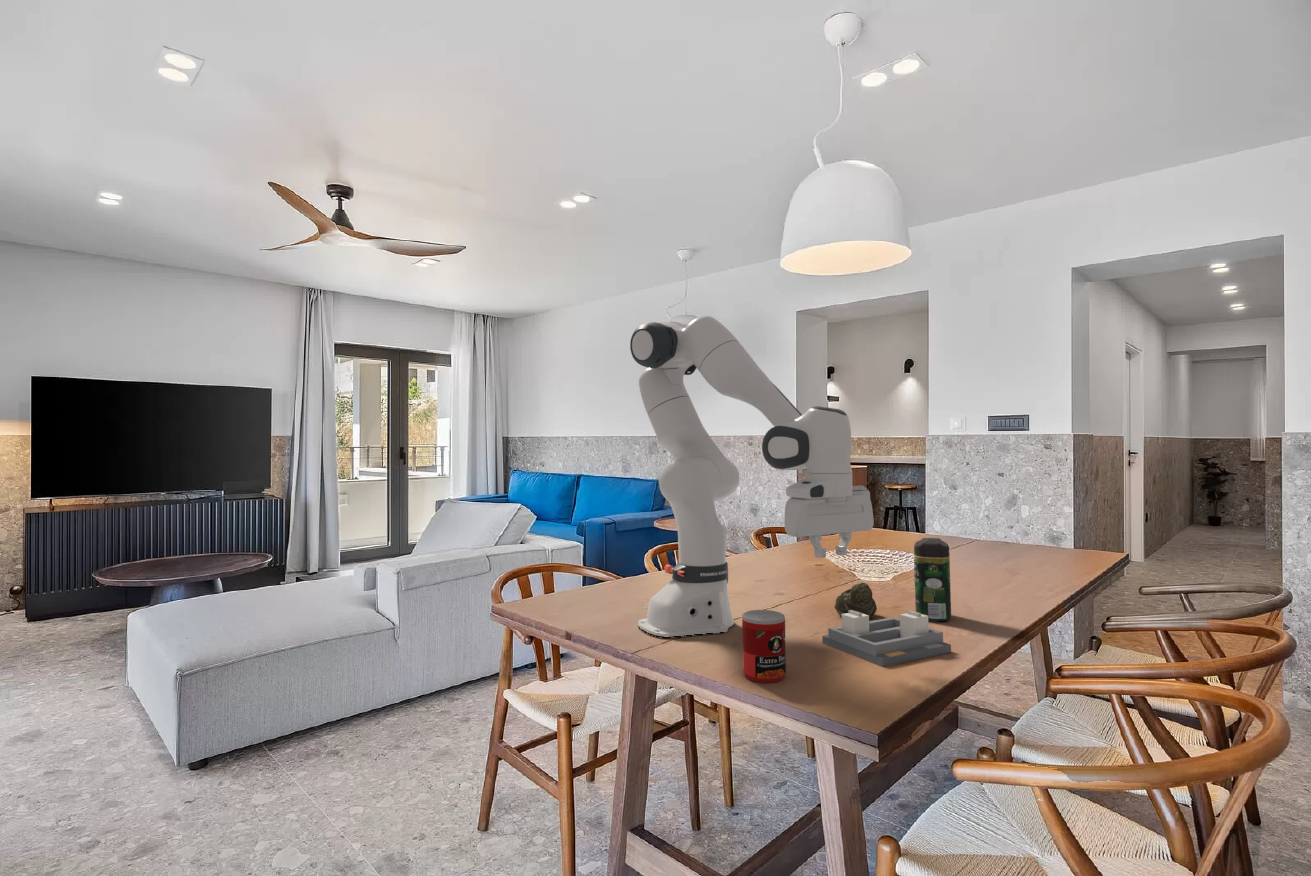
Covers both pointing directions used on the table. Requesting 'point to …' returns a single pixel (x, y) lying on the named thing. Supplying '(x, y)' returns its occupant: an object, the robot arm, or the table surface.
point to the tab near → (913, 624)
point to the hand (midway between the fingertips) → (830, 556)
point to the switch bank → (887, 643)
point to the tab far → (855, 622)
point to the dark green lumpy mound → (856, 600)
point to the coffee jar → (932, 579)
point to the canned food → (764, 646)
